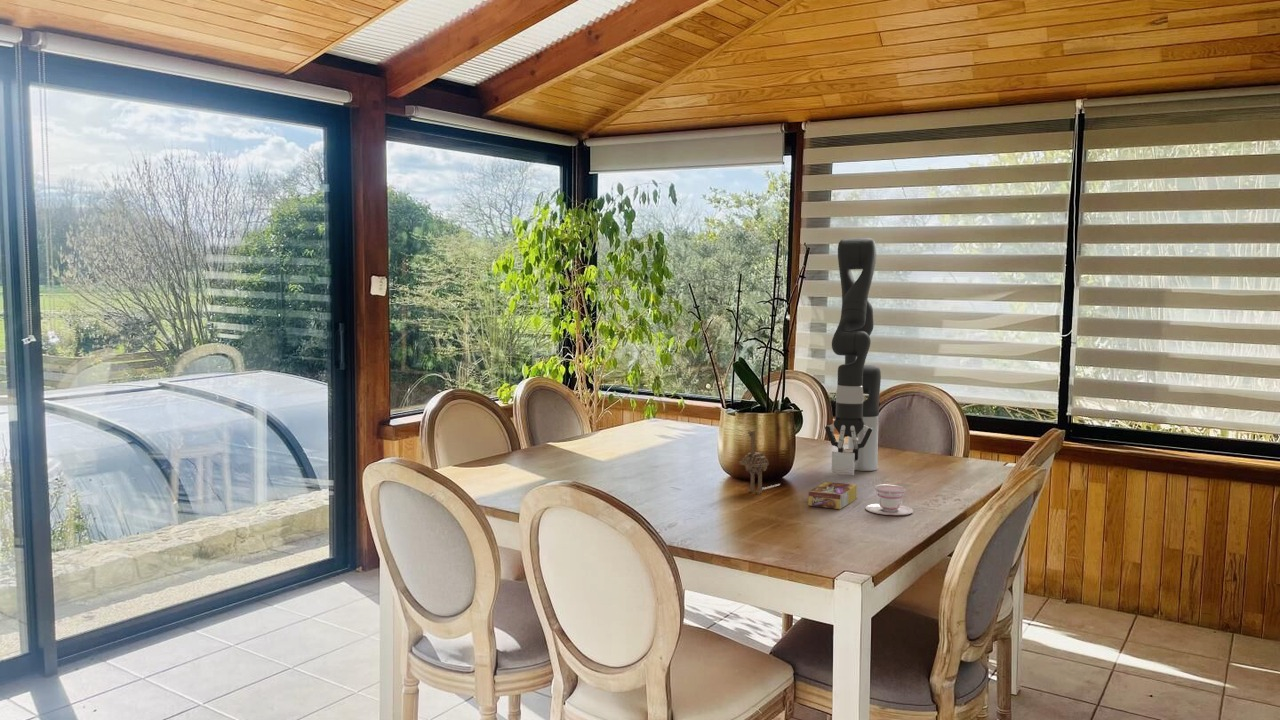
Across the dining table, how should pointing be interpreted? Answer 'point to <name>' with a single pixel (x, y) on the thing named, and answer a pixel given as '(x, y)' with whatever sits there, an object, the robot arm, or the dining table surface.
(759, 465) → the ostrich figurine
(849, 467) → the pale square-ended block
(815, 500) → the candy box
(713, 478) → the dining table surface
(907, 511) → the teacup
